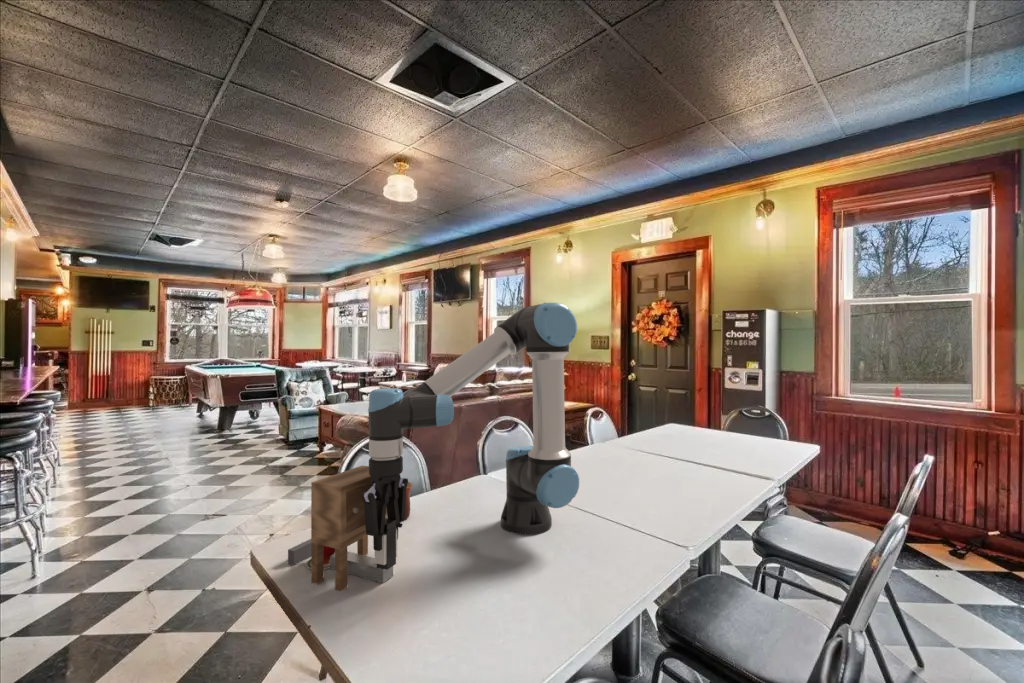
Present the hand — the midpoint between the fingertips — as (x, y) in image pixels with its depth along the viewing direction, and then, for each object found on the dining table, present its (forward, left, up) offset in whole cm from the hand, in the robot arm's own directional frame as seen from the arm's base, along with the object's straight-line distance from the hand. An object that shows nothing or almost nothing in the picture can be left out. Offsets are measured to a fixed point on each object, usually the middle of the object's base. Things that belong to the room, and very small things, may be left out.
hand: (386, 559), depth 102 cm
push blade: (+7, 0, -4) cm, 8 cm away
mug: (+21, -29, -5) cm, 36 cm away
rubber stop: (+26, 0, -5) cm, 26 cm away
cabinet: (+10, 0, -5) cm, 11 cm away
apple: (+19, 0, -5) cm, 20 cm away
